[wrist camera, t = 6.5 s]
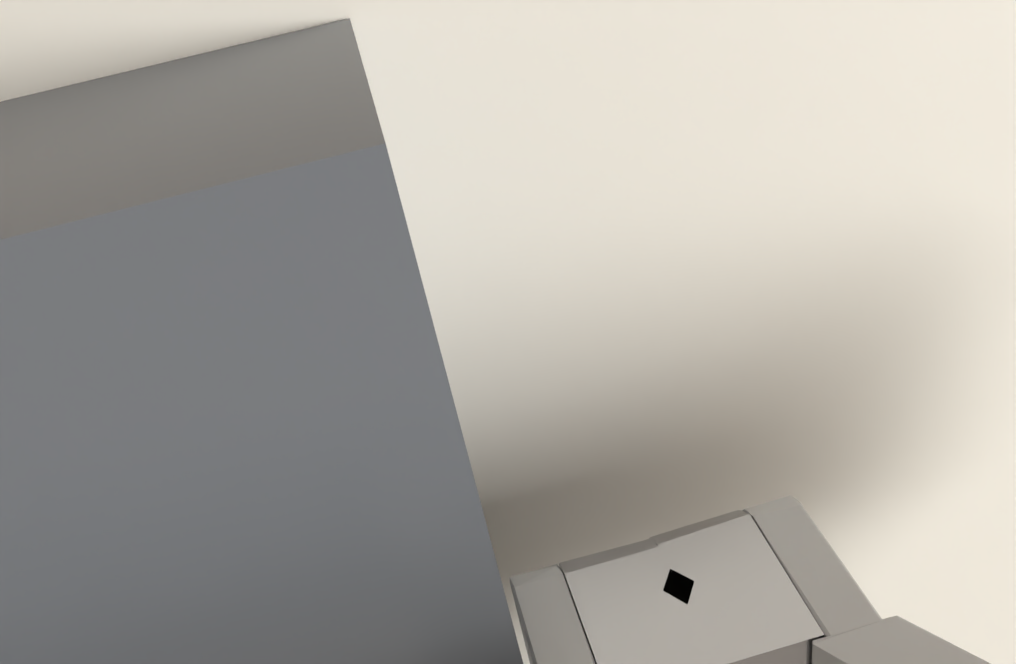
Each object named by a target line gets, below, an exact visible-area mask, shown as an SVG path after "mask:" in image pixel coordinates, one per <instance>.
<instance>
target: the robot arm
mask: <svg viewBox="0 0 1016 664" xmlns="http://www.w3.org/2000/svg"><path fill="white" fill-rule="evenodd" d="M510 585H511V589H512V594H513V598H514V602H515V606H516V610H517V614H518V618H519V622H520V626H521V630H522V634H523V638H524V642H525V646H526V650H527V654H528V658H529V662H530V664H991V663H989V662H987V661H985V660H983V659H981V658H979V657H977V656H975V655H973V654H971V653H969V652H967V651H966V650H964V649H962V648H960V647H958V646H956V645H954V644H952V643H950V642H948V641H946V640H944V639H942V638H940V637H938V636H936V635H934V634H932V633H930V632H929V631H927V630H925V629H923V628H921V627H919V626H917V625H915V624H913V623H911V622H909V621H907V620H905V619H903V618H901V617H899V616H897V615H896V616H892V617H889V618H885V619H882V618H881V617H880V615H879V614H878V612H877V611H876V610H875V608H874V607H873V605H872V604H871V602H870V601H869V600H868V598H867V597H866V595H865V594H864V592H863V591H862V590H861V588H860V587H859V585H858V584H857V582H856V581H855V580H854V578H853V577H852V575H851V574H850V572H849V571H848V570H847V568H846V567H845V565H844V564H843V562H842V561H841V560H840V558H839V557H838V555H837V554H836V552H835V551H834V550H833V548H832V547H831V545H830V544H829V542H828V541H827V540H826V538H825V537H824V535H823V534H822V532H821V531H820V530H819V528H818V527H817V525H816V524H815V522H814V521H813V520H812V518H811V517H810V515H809V514H808V512H807V511H806V510H805V508H804V507H803V505H802V504H801V502H800V501H798V500H797V499H795V498H794V497H792V496H791V495H790V496H786V497H783V498H780V499H776V500H773V501H770V502H766V503H763V504H759V505H756V506H753V507H749V508H746V509H744V510H742V511H741V510H736V511H733V512H730V513H726V514H723V515H720V516H717V517H713V518H710V519H707V520H704V521H700V522H697V523H694V524H691V525H687V526H684V527H681V528H678V529H675V530H671V531H668V532H665V533H662V534H658V535H655V536H652V537H649V539H647V540H643V541H640V542H636V543H632V544H628V545H625V546H621V547H617V548H613V549H610V550H606V551H602V552H598V553H595V554H591V555H587V556H583V557H579V558H576V559H572V560H568V561H564V562H561V563H559V566H558V565H557V564H555V565H551V566H548V567H544V568H540V569H537V570H533V571H530V572H526V573H522V574H519V575H515V576H512V577H510Z"/></svg>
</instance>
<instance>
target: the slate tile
mask: <svg viewBox="0 0 1016 664" xmlns="http://www.w3.org/2000/svg"><path fill="white" fill-rule="evenodd" d="M0 664H523V660H522V656H521V653H520V649H519V645H518V641H517V638H516V634H515V630H514V626H513V622H512V619H511V615H510V611H509V607H508V604H507V600H506V596H505V592H504V589H503V585H502V581H501V577H500V573H499V570H498V566H497V562H496V558H495V555H494V551H493V547H492V543H491V539H490V536H489V532H488V528H487V524H486V521H485V517H484V513H483V509H482V505H481V502H480V498H479V494H478V490H477V487H476V483H475V479H474V475H473V471H472V468H471V464H470V460H469V456H468V453H467V449H466V445H465V441H464V438H463V434H462V430H461V426H460V422H459V419H458V415H457V411H456V407H455V404H454V400H453V396H452V392H451V388H450V385H449V381H448V377H447V373H446V370H445V366H444V362H443V358H442V354H441V351H440V347H439V343H438V339H437V336H436V332H435V328H434V324H433V320H432V317H431V313H430V309H429V305H428V302H427V298H426V294H425V290H424V287H423V283H422V279H421V275H420V271H419V268H418V264H417V260H416V256H415V253H414V249H413V245H412V241H411V237H410V234H409V230H408V226H407V222H406V219H405V215H404V211H403V207H402V203H401V200H400V196H399V192H398V188H397V185H396V181H395V177H394V173H393V169H392V166H391V162H390V158H389V154H388V151H387V147H386V143H385V140H384V136H383V133H382V129H381V126H380V122H379V119H378V115H377V112H376V108H375V105H374V101H373V98H372V94H371V91H370V87H369V84H368V80H367V77H366V73H365V70H364V66H363V63H362V59H361V56H360V52H359V49H358V45H357V42H356V38H355V35H354V31H353V28H352V24H351V21H350V18H348V19H344V20H340V21H336V22H331V23H327V24H323V25H319V26H315V27H310V28H306V29H302V30H298V31H294V32H290V33H285V34H281V35H277V36H273V37H269V38H264V39H260V40H256V41H252V42H248V43H244V44H239V45H235V46H231V47H227V48H223V49H218V50H214V51H210V52H206V53H202V54H197V55H193V56H189V57H185V58H181V59H177V60H172V61H168V62H164V63H160V64H156V65H151V66H147V67H143V68H139V69H135V70H131V71H126V72H122V73H118V74H114V75H110V76H105V77H101V78H97V79H93V80H89V81H84V82H80V83H76V84H72V85H68V86H64V87H59V88H55V89H51V90H47V91H43V92H38V93H34V94H30V95H26V96H22V97H17V98H13V99H9V100H5V101H1V102H0Z"/></svg>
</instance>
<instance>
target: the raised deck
mask: <svg viewBox="0 0 1016 664" xmlns="http://www.w3.org/2000/svg"><path fill="white" fill-rule="evenodd" d="M348 18H350V21H351V24H352V28H353V31H354V35H355V38H356V42H357V45H358V49H359V52H360V56H361V59H362V63H363V66H364V70H365V73H366V77H367V80H368V84H369V87H370V91H371V94H372V98H373V101H374V105H375V108H376V112H377V115H378V119H379V122H380V126H381V129H382V133H383V136H384V140H385V143H386V147H387V151H388V154H389V158H390V162H391V166H392V169H393V173H394V177H395V181H396V185H397V188H398V192H399V196H400V200H401V203H402V207H403V211H404V215H405V219H406V222H407V226H408V230H409V234H410V237H411V241H412V245H413V249H414V253H415V256H416V260H417V264H418V268H419V271H420V275H421V279H422V283H423V287H424V290H425V294H426V298H427V302H428V305H429V309H430V313H431V317H432V320H433V324H434V328H435V332H436V336H437V339H438V343H439V347H440V351H441V354H442V358H443V362H444V366H445V370H446V373H447V377H448V381H449V385H450V388H451V392H452V396H453V400H454V404H455V407H456V411H457V415H458V419H459V422H460V426H461V430H462V434H463V438H464V441H465V445H466V449H467V453H468V456H469V460H470V464H471V468H472V471H473V475H474V479H475V483H476V487H477V490H478V494H479V498H480V502H481V505H482V509H483V513H484V517H485V521H486V524H487V528H488V532H489V536H490V539H491V543H492V547H493V551H494V555H495V558H496V562H497V566H498V570H499V573H500V577H501V581H502V585H503V589H504V592H505V596H506V600H507V604H508V607H509V611H510V615H511V619H512V622H513V626H514V630H515V634H516V638H517V641H518V645H519V649H520V653H521V656H522V660H523V664H530V662H529V658H528V654H527V650H526V646H525V642H524V638H523V634H522V630H521V626H520V622H519V618H518V614H517V610H516V606H515V602H514V598H513V594H512V589H511V585H510V577H512V576H515V575H519V574H522V573H526V572H530V571H533V570H537V569H540V568H544V567H548V566H551V565H555V564H557V565H558V566H559V563H561V562H564V561H568V560H572V559H576V558H579V557H583V556H587V555H591V554H595V553H598V552H602V551H606V550H610V549H613V548H617V547H621V546H625V545H628V544H632V543H636V542H640V541H643V540H647V539H649V537H652V536H655V535H658V534H662V533H665V532H668V531H671V530H675V529H678V528H681V527H684V526H687V525H691V524H694V523H697V522H700V521H704V520H707V519H710V518H713V517H717V516H720V515H723V514H726V513H730V512H733V511H736V510H741V511H742V510H744V509H746V508H749V507H753V506H756V505H759V504H763V503H766V502H770V501H773V500H776V499H780V498H783V497H786V496H790V495H791V496H792V497H794V498H795V499H797V500H798V501H800V502H801V504H802V505H803V507H804V508H805V510H806V511H807V512H808V514H809V515H810V517H811V518H812V520H813V521H814V522H815V524H816V525H817V527H818V528H819V530H820V531H821V532H822V534H823V535H824V537H825V538H826V540H827V541H828V542H829V544H830V545H831V547H832V548H833V550H834V551H835V552H836V554H837V555H838V557H839V558H840V560H841V561H842V562H843V564H844V565H845V567H846V568H847V570H848V571H849V572H850V574H851V575H852V577H853V578H854V580H855V581H856V582H857V584H858V585H859V587H860V588H861V590H862V591H863V592H864V594H865V595H866V597H867V598H868V600H869V601H870V602H871V604H872V605H873V607H874V608H875V610H876V611H877V612H878V614H879V615H880V617H881V618H882V619H885V618H889V617H892V616H896V615H897V616H899V617H901V618H903V619H905V620H907V621H909V622H911V623H913V624H915V625H917V626H919V627H921V628H923V629H925V630H927V631H929V632H930V633H932V634H934V635H936V636H938V637H940V638H942V639H944V640H946V641H948V642H950V643H952V644H954V645H956V646H958V647H960V648H962V649H964V650H966V651H967V652H969V653H971V654H973V655H975V656H977V657H979V658H981V659H983V660H985V661H987V662H989V663H991V664H1016V0H0V102H1V101H5V100H9V99H13V98H17V97H22V96H26V95H30V94H34V93H38V92H43V91H47V90H51V89H55V88H59V87H64V86H68V85H72V84H76V83H80V82H84V81H89V80H93V79H97V78H101V77H105V76H110V75H114V74H118V73H122V72H126V71H131V70H135V69H139V68H143V67H147V66H151V65H156V64H160V63H164V62H168V61H172V60H177V59H181V58H185V57H189V56H193V55H197V54H202V53H206V52H210V51H214V50H218V49H223V48H227V47H231V46H235V45H239V44H244V43H248V42H252V41H256V40H260V39H264V38H269V37H273V36H277V35H281V34H285V33H290V32H294V31H298V30H302V29H306V28H310V27H315V26H319V25H323V24H327V23H331V22H336V21H340V20H344V19H348Z"/></svg>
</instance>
